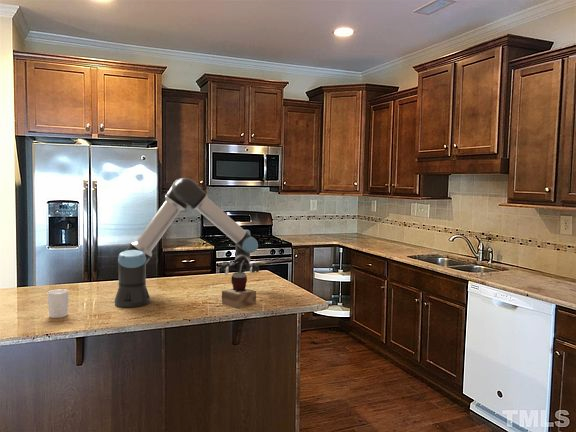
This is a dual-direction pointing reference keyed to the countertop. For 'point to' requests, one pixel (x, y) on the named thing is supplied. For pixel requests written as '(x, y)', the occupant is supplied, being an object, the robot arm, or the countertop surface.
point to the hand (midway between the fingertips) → (238, 272)
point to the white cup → (58, 303)
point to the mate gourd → (239, 280)
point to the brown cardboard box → (238, 298)
